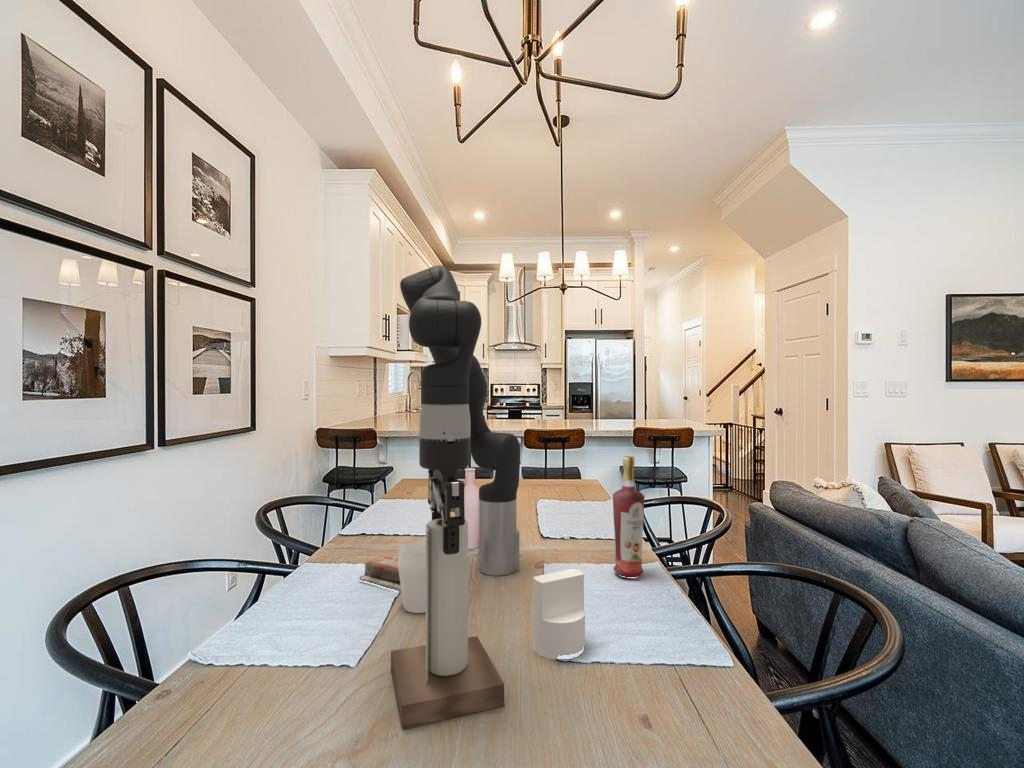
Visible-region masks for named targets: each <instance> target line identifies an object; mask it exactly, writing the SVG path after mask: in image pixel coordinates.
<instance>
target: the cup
mask: <svg viewBox="0 0 1024 768" xmlns="http://www.w3.org/2000/svg"><path fill="white" fill-rule="evenodd" d="M397 558H398V570H399V577H400V584H401V592H402V594H401V597H402V598H401V599H402V606H403V609H404V610H405V611H406V612H409V613H412V614H423V613H426V539H421V540H412V541H408V542H404V543H402V544H400V545H399V546H398V555H397Z"/></svg>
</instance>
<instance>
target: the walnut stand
mask: <svg viewBox="0 0 1024 768" xmlns="http://www.w3.org/2000/svg"><path fill="white" fill-rule="evenodd" d="M425 649H426V644H423V645H417V646H412V647H407V648H400V649H396V650H391V651H390V674H391V679H392V684H393V688H394V689H393V690H394V694H395V698H396V705H397V709H398V713H399V715H398V716H399V720H400V725H401V730H406V729H409V728H410V729H411V728H414V727H418V726H422V725H427V724H432V723H436V722H439V721H445V720H448V719H452V718H457V717H458V718H459V717H461V716H465V715H469V714H474V713H479V712H482V711H487V710H488V711H489V710H491V709H497V708H500V707H504V706H505V682H504V681H503V679H502V678H501V676H500V674H499V672H498V670H497V668H496V667H495V665H494V663H493V661H492V660H491V658H490V656H489V654H488V652H487V651H486V648H485V647H484V645H483V644H482V642H481V640H480V638H479V636H478V635H475V636H469V637H468V662H467V665H466V668H465V669H464V670H463V671H461V672H460V673H457V674H455V675H450V676H439V675H436V674H433V673H431V672H430V671H429V670H428V681H427V683H426V671H425Z"/></svg>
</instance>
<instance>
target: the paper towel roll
mask: <svg viewBox="0 0 1024 768" xmlns="http://www.w3.org/2000/svg"><path fill="white" fill-rule="evenodd" d="M425 540H426V612H425V645H426V649H425V671H426V683H427V681H428V670H429V671H430V672H431V673H433V674H436V675H439V676H450V675H455V674H457V673H460V672H461V671H463V670H464V669H465V668H466V665H467V662H468V636H469V634H468V633H469V627H468V625H469V623H468V622H469V614H468V613H469V607H468V606H469V523H468V520H466V519H465V524H464V525H461V526H459V552H458V553H456V554H448V555H446V554H445V553H444V552H443V525H442V518H440V519H434V520H432V519H431V520H430V521H428V522H427V524H426V525H425Z"/></svg>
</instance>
